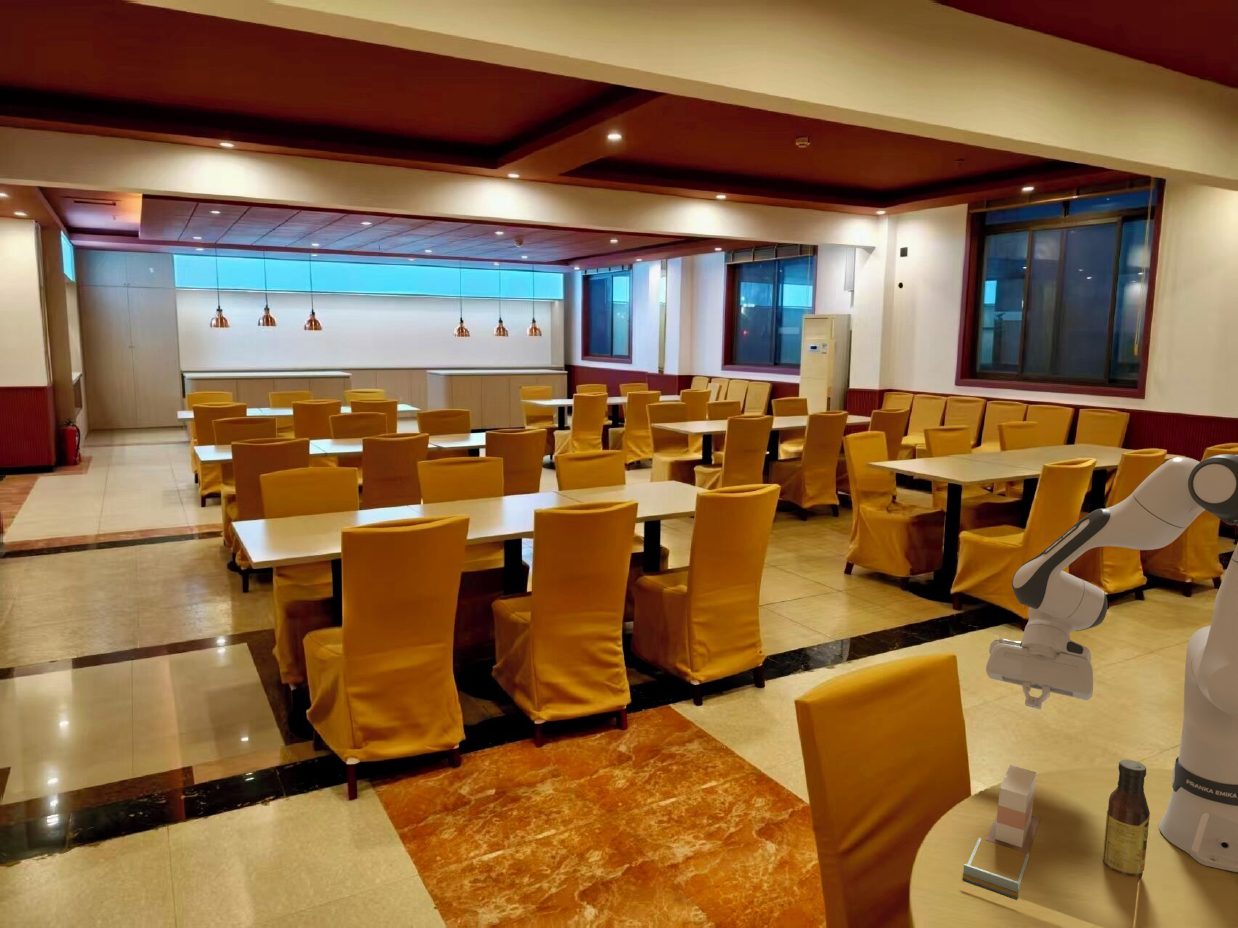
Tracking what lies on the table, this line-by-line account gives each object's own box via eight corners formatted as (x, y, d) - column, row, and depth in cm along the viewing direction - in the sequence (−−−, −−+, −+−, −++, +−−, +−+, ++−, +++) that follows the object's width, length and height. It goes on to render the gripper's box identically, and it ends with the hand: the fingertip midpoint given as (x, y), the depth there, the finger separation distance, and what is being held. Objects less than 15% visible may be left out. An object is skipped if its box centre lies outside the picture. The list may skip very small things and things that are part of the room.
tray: (1029, 861, 150) (1030, 846, 150) (1016, 900, 140) (1018, 883, 140) (978, 844, 155) (979, 829, 155) (962, 880, 145) (964, 864, 144)
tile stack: (1031, 821, 160) (1036, 772, 159) (1021, 847, 152) (1027, 795, 150) (1005, 813, 163) (1010, 764, 161) (994, 838, 155) (999, 787, 153)
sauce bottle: (1149, 886, 144) (1162, 777, 141) (1108, 881, 145) (1121, 773, 142) (1134, 863, 151) (1146, 758, 147) (1095, 858, 152) (1107, 754, 149)
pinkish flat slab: (1039, 825, 162) (1040, 818, 161) (1027, 861, 151) (1028, 853, 150) (999, 813, 166) (1000, 806, 165) (985, 847, 154) (986, 839, 154)
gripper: (991, 629, 185) (977, 687, 179) (1098, 650, 174) (1088, 713, 168) (993, 643, 190) (980, 700, 183) (1097, 664, 178) (1088, 725, 172)
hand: (1032, 706), depth 175 cm, fingers closed
